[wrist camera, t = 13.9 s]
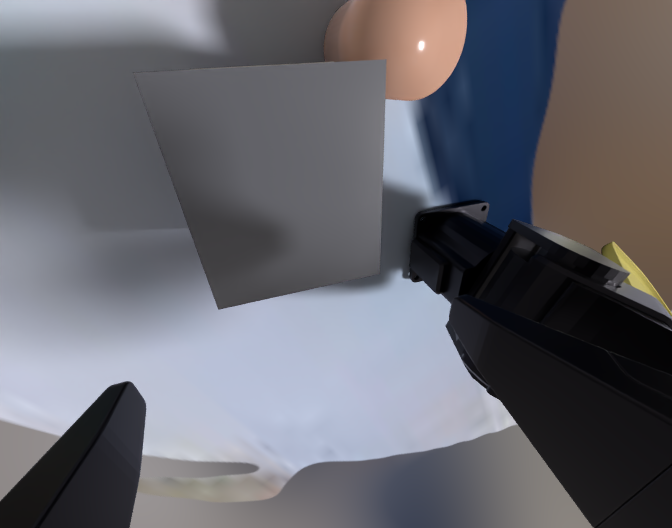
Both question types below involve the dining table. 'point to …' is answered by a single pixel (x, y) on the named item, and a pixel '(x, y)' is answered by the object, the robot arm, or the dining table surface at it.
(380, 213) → the grey box
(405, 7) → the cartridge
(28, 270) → the dining table surface
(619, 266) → the robot arm
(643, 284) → the plastic component
